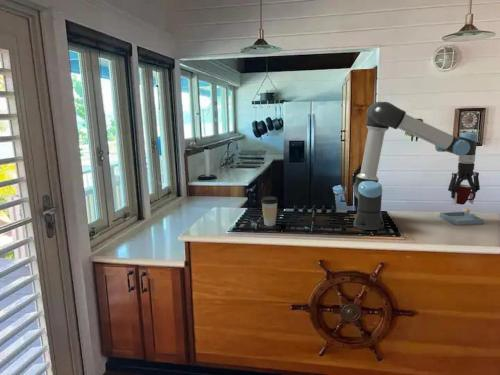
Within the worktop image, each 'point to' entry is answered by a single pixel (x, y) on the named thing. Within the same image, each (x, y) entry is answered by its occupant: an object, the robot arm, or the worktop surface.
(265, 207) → the coffee cup
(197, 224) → the worktop surface
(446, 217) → the tray
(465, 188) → the mug
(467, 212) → the ball
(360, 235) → the worktop surface
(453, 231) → the worktop surface
